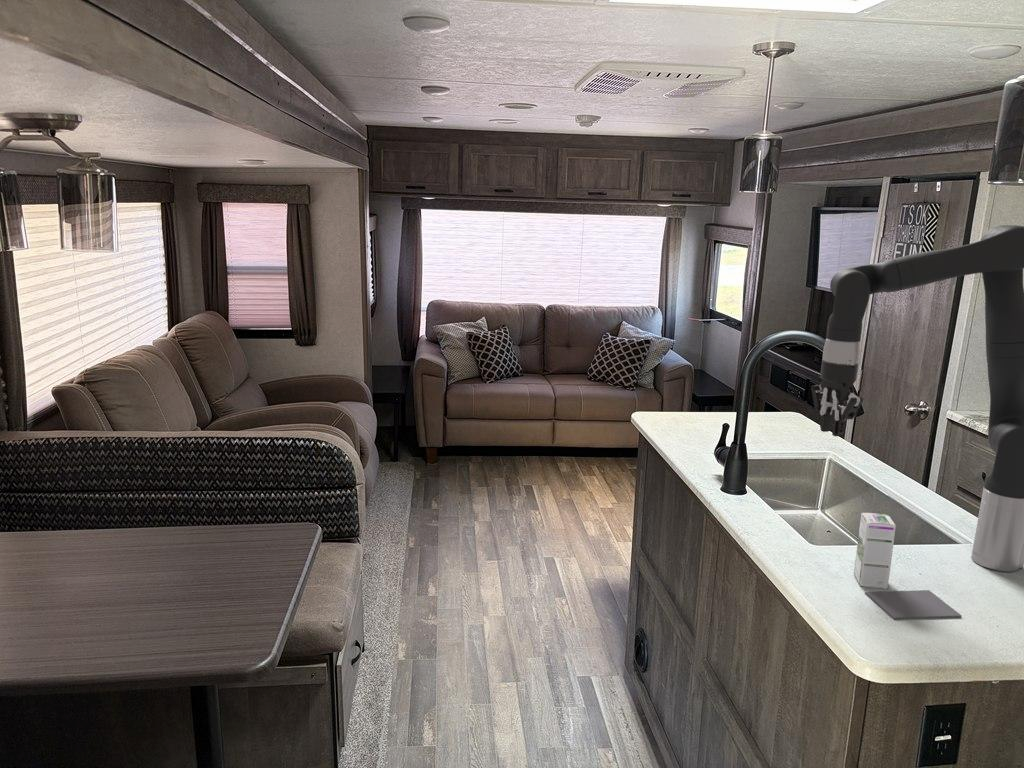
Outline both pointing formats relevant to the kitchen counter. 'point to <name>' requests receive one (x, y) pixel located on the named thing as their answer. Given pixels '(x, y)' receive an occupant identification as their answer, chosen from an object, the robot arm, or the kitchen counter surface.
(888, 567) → the syrup box
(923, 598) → the mat
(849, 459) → the kitchen counter surface
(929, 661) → the kitchen counter surface
